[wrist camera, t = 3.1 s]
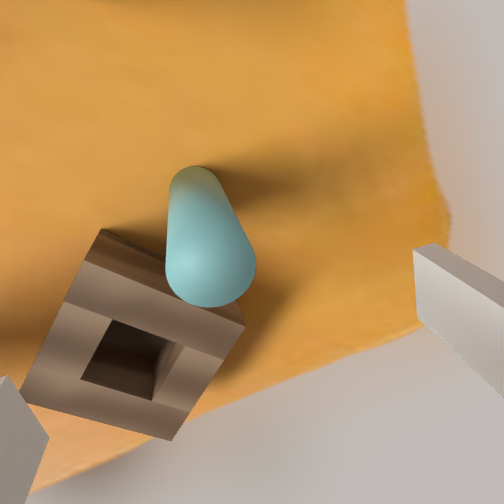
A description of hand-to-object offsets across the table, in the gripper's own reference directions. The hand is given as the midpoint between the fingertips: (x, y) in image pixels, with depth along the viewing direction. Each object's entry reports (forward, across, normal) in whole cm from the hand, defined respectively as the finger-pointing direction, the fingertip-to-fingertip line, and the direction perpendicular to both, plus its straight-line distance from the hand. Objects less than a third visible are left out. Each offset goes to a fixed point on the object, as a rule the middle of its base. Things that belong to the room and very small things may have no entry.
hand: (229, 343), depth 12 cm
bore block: (+19, -8, -9) cm, 22 cm away
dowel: (+19, 0, 0) cm, 19 cm away
